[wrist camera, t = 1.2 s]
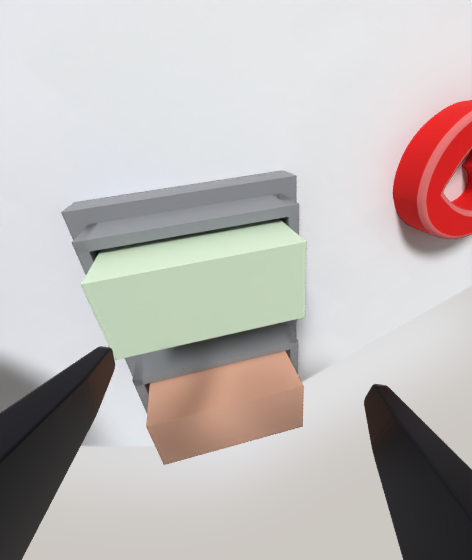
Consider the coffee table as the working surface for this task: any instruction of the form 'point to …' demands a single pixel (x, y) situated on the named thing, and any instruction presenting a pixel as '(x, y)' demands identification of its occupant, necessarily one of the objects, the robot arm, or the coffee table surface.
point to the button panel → (181, 221)
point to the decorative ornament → (437, 175)
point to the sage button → (197, 286)
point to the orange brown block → (224, 406)
